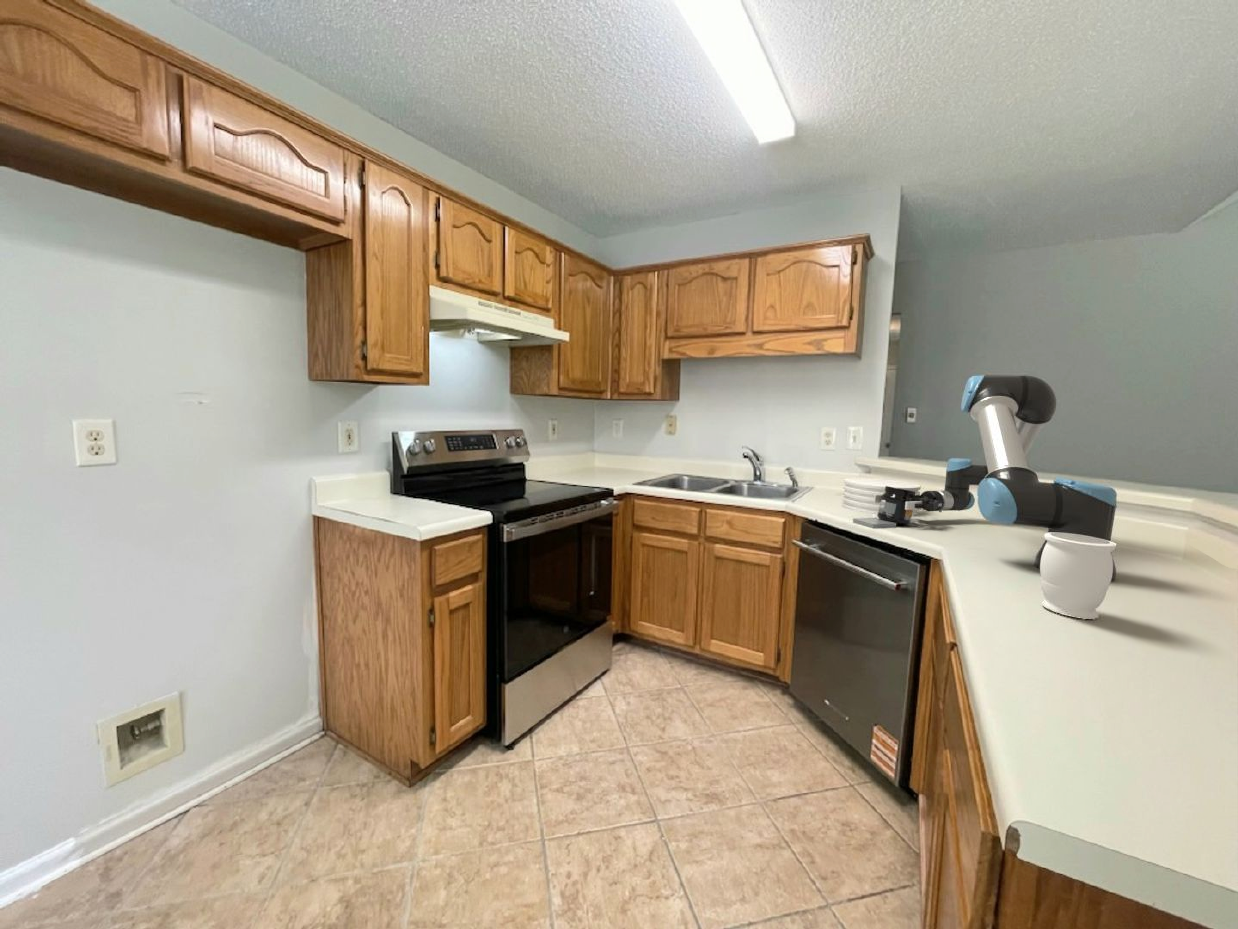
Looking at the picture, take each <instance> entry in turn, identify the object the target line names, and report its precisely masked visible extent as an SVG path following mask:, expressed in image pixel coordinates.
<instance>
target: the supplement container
mask: <svg viewBox="0 0 1238 929" xmlns="http://www.w3.org/2000/svg"><path fill="white" fill-rule="evenodd" d="M884 491H885V493H884V494H882V496H881V497H882V498H881V502H880V506H879V511H878V514H877V516H876V518H879V519H882V520H885V521H889V522H893V523H896V524H900V525H906V526H907V525H910V523H911V518H912V516H911V515H912V511H913V510H905V503H906V502H911V501H914V499H913V497H915V493H916V492H914V491H909V490H904V489H899V488H894V487H889V486H885V490H884Z"/></svg>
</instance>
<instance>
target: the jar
mask: <svg viewBox="0 0 1238 929" xmlns="http://www.w3.org/2000/svg"><path fill="white" fill-rule="evenodd" d="M1043 538H1044V541H1045V540H1047V543H1046V545H1045V547H1044V549H1043V552H1042V556H1041V562H1040V568H1039V572H1040V583H1041V584H1040V585H1041V586H1040V587H1041V591H1042V594H1043V597H1045V598H1044V600H1043V601H1042V602H1041V606H1042V605H1043V606H1044V607H1046V608H1049V609H1051V610H1053V611H1056V612H1058V613H1064V614H1067V615H1071V616H1074V617H1080V618H1086V619H1093V620H1096V619H1095V618H1097V619H1098V618H1099V614H1098V612H1097V609H1098V608H1099V607H1100V606H1101V605H1102V603H1103V602H1104V600H1105V597H1106V595H1107V592H1108V590H1109V587H1110V585H1111V582H1112V581H1111V579H1112V573H1113V560H1114V558H1113V559H1112V556H1113V554H1112V555H1111V553H1112V551H1115V550H1116V548H1117V543H1115V542H1113V541H1112V540H1111V541H1107V540H1104V539H1100V538H1096V537H1091V536H1085V535H1079V534H1071V533H1058V532H1049V533H1048V532H1045V533H1044V535H1043ZM1043 606H1042V607H1043ZM1044 607H1043V608H1044Z"/></svg>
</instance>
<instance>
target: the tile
mask: <svg viewBox="0 0 1238 929" xmlns="http://www.w3.org/2000/svg"><path fill="white" fill-rule="evenodd" d="M852 523H854V524H857V525H860V526H863V527H867V528H869V529H890V528H894V529H895V528H897V523H894V522H889V521H885V520H882V519H879V518H878V517H858V518H853V519H852Z"/></svg>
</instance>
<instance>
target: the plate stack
mask: <svg viewBox="0 0 1238 929" xmlns="http://www.w3.org/2000/svg"><path fill="white" fill-rule="evenodd" d="M843 483H844V484H843V486H842V488H843V490H842V498H841V500H842V503H841V507H842V508H844V509H847V510H849V511H854V512H858V513H863V514H870V515H877V514H878V511H879V506H880V502H874V495H882V494H884V493H885V491H884V490H885V486H889V487H894V488H899V489H904V490H909V491H914V492H916V493H915V495H921V492H920V490H921V485H920V484H917V483H914V482H909V481H903V480H893V479H887V478H886V479H885V478H874V477H873V478H872V477H846V478H844V479H843ZM912 515H916V516H917V515H919V509H918V510H913V511H912ZM912 515H911V517H913V516H912Z"/></svg>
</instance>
